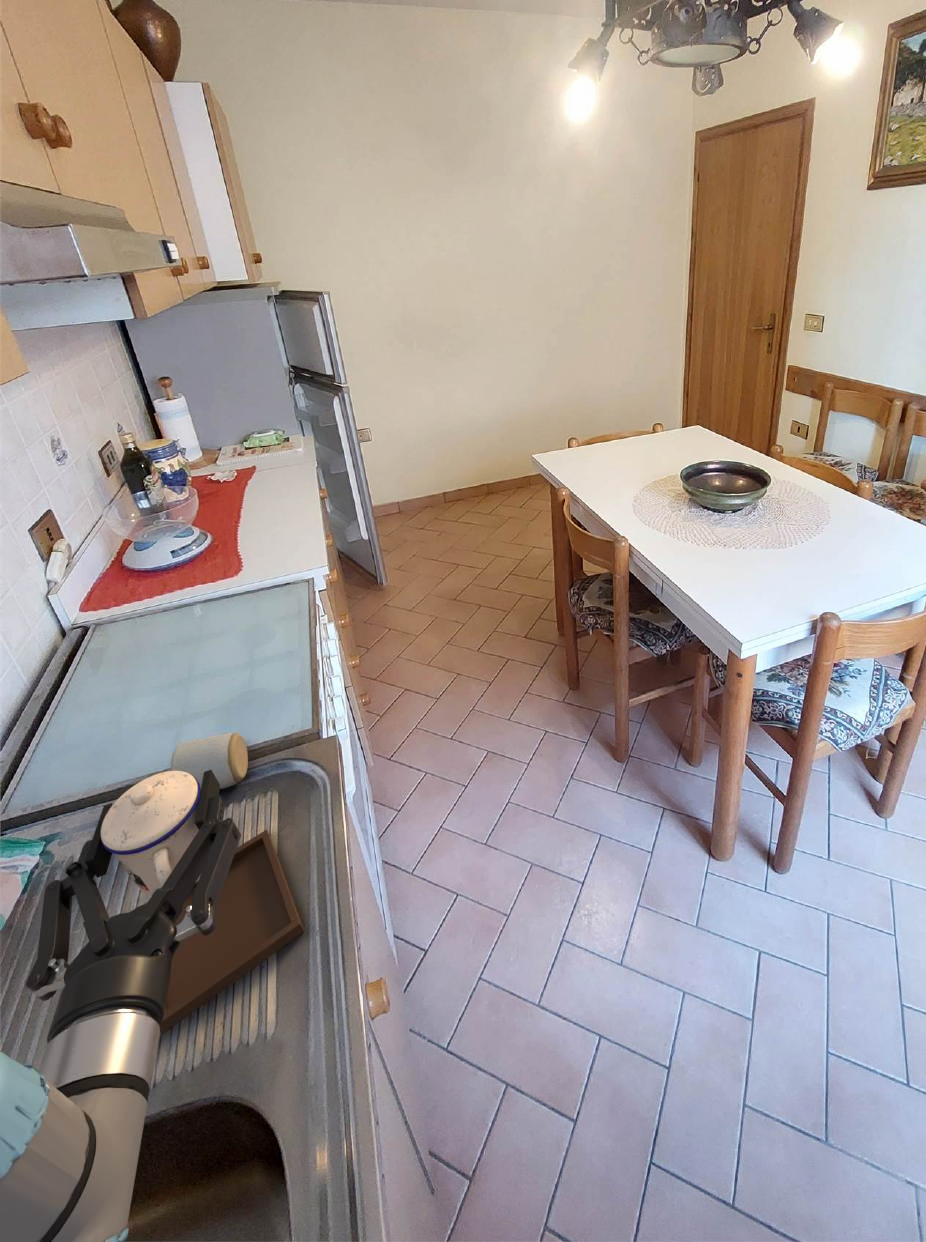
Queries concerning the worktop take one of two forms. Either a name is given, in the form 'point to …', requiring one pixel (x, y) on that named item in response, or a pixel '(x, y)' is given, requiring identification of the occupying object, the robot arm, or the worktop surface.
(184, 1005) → the rectangular tray
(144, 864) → the teacup with lid
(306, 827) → the worktop surface
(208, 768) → the ceramic mug
